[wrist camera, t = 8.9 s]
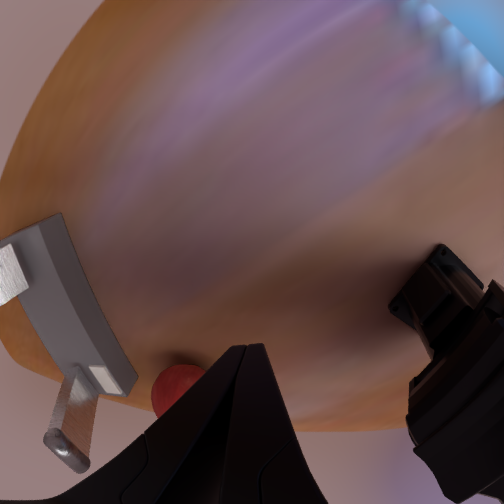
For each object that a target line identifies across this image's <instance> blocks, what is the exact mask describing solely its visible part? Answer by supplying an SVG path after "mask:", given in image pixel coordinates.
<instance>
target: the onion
mask: <svg viewBox="0 0 504 504" xmlns="http://www.w3.org/2000/svg"><path fill="white" fill-rule="evenodd" d="M205 372H206V371H205V370H203V369H201V368H200V367H199V366H196V365H189V364H181V365H174V366H172V367H169V368H167V369H166V370H164V371H162V372H161V373H160V375H159V376H158V378H157V379H156V381H155V383H154V384H153V387H152V392H151V400H152V405H153V409H154V412H155V414H156V416H157V418H159V417H160V416H161V415H162V414H163V413H165V412H166V411H167V410H168V409H169V408H170V407H171V406H172V405H173V404H174V403H175V402H176V401H177V400H178V399H179V398H180V397H181V396H182V395H183V394H184V393H185V392H186V391H187V390H188V389H189V388H190V387H191V386H192V385H193V384H194V383H195V382H196V381H197V380H198V379H199V378H200V377H201V376H202V375H203V374H204V373H205Z"/></svg>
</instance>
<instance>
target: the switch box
mask: <svg viewBox="0 0 504 504" xmlns="http://www.w3.org/2000/svg"><path fill="white" fill-rule="evenodd" d="M7 244H11V245H12V248H13V250H14V253H15V255H16V258H17V260H18V263H19V265H20V268H21V270H22V272H23V274H24V277H25V279H26V281H27V283H28V285H29V288H27V289H26V290H24V291H22V292H21V293H19V294H18V295H17V296H18V298H19V300H20V302H21V304H22V306H23V308H24V310H25V312H26V314H27V316H28V318H29V320H30V321H31V323H32V325H33V327H34V329H35V330H36V332H37V334H38V335H39V337H40V339H41V341H42V342H43V344H44V345H45V347H46V349H47V350H48V352H49V353H50V355H51V357H52V358H53V360H54V361H55V363H56V364H57V366H58V367H59V369H60V370H61V372H62V373H63V375H64V376H65V374H66V371H67V369H68V368H73V367H77V366H79V367H80V368H81V370H82V371H83V373H84V374H85V376H86V377H87V379H88V380H89V382H90V383H91V384H92V386H93V387H94V389H95V390H96V391H97V393H98V394H105V395H113V396H122V397H128V395H129V393H130V391H131V389H132V387H133V386H134V384H135V382H136V380H137V378H138V376H137V374H136V372H135V371H134V369H133V367H132V366H131V364H130V362H129V361H128V359H127V357H126V355H125V354H124V352H123V350H122V348H121V347H120V345H119V343H118V341H117V339H116V338H115V336H114V334H113V332H112V330H111V328H110V326H109V324H108V323H107V321H106V319H105V317H104V315H103V313H102V311H101V309H100V307H99V305H98V302H97V300H96V298H95V296H94V294H93V292H92V290H91V287H90V285H89V283H88V281H87V279H86V276H85V274H84V272H83V269H82V267H81V265H80V262H79V260H78V257H77V255H76V252H75V250H74V247H73V245H72V242H71V239H70V237H69V234H68V231H67V229H66V226H65V223H64V220H63V217H62V214H61V213H58V214H56V215H53V216H51V217H49V218H46V219H44V220H41V221H39V222H37V223H34V224H32V225H30V226H27V227H25V228H23V229H21V230H19V231H16V232H14V233H12V234H11V235H9V236H7V237H5V238H4V239H2V240H0V248H2V247H4V246H5V245H7Z"/></svg>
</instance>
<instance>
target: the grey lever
mask: <svg viewBox="0 0 504 504" xmlns="http://www.w3.org/2000/svg"><path fill="white" fill-rule="evenodd" d="M98 396H99V394H98V393H97V391H96V390H95V389H94V387H93V386H92V384H91V383H90V382H89V380H88V379H87V377H86V376H85V374H84V373H83V371H82V370H81V368H80V367H79V366H77V367H73V368H68V369H67V371H66V374H65V377H64V379H63V382H62V385H61V388H60V392H59V394H58V397H57V400H56V404H55V407H54V410H53V414H52V417H51V420H50V424H49V427H48V431H47V432H46V434H45V435H44V439H43V442H44V444H45V445H46V446H47V447H48V448H49V449H50V450H51V451H52V452H53V453H54V454H55V455H56V456H57V457H59V458H60V459H61V460H62V461H63V462H64V463H65V464H66V465H67V466H69V467H70V468H71V469H72V470H73V471H74V472H76V473H79V474H81V473H84V472H86V471H87V470H88V469H89V467H90V459H89V452H90V444H91V437H92V430H93V424H94V418H95V412H96V407H97V401H98Z"/></svg>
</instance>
